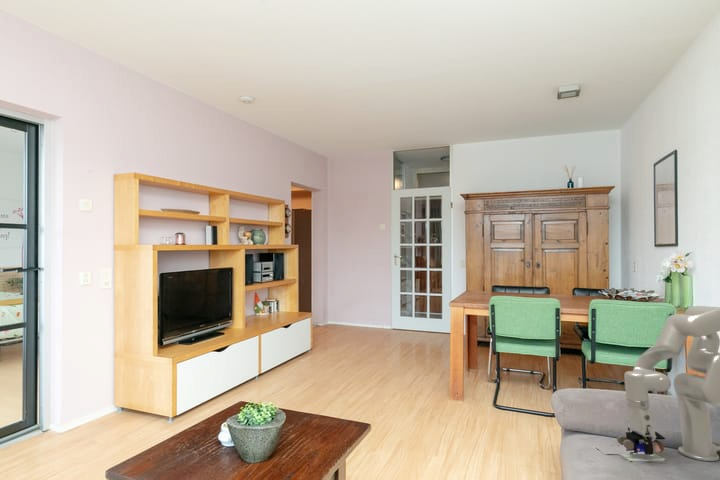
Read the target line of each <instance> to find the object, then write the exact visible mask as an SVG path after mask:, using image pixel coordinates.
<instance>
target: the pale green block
mask: <svg viewBox="0 0 720 480" xmlns="http://www.w3.org/2000/svg"><path fill="white" fill-rule="evenodd" d="M653 453H654V452H653ZM620 455H622V456H623V457H625V458H626V459H628V460H629V461H643V462H646V461H645V460H666V459H665V458H664V457H663V456H660V455H658V454H656V453H654V454H653V455H654V456H650V455H646V454H638V453H636V454H620ZM620 455H619V456H620ZM651 455H652V454H651ZM622 456H621V457H622ZM623 457H622V458H623ZM625 458H624V459H625ZM626 459H625V460H626ZM628 460H627V461H628ZM629 461H628V462H629Z"/></svg>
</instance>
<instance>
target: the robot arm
mask: <svg viewBox="0 0 720 480" xmlns="http://www.w3.org/2000/svg"><path fill="white" fill-rule="evenodd" d="M718 332H720V307H719V306H706V305H705V306H704V305H702V306H701V305H694V306H689V307H688V308H687V309H686V310H685V314H682V313H679V314H678V313H677V314H676V313H675V314H671V315H669V316H668V317H667V318H666V321H665V322H664V325H663V326H662V329H661V332H660V333H659V335H658V337H657V340H656V342H655V344H654V345H653V346H651V347H650V348H648V349H647V350H645V351H644V352H643V353H641V355H640V356H638V358H637V360H636V362H635V365H634V367H633V370H628V371H625V372H624V375H623V377H624V387H625V397H626V399H625V400H626V421H625V425H626V427H627V430H628V432H636V433H638V434H640V435H642V437H643V439H644V440H643V443H644V453H645V454H646V455H651V454H654V452H653V444H654V441H655V440H657V439H656V435H655V432H656V430H655V429H656V428H655V423H654V418H653V414H652V413H653V412H652V411H651V409H650V401H649V391H650V392H657V393H658V392H659V393H662V392H666V391H668V390H670V388H671V385H673V388H674V392H675V395H676V397H677V403H678V411H679V422H680V424H679V425H680V432H681V442H682V443H681V444H682V446H679V447H678V450H677V451H678V453H680V455H682V456H684V457H687V458H690V459H694V460H697V461H703V462H704V461H705V462H715V461H719V460H720V455H719V454H718V452H720V445H717V444H715V443H713V436H712V435H713V434H712V425H711V418H710V410H709V407H708V404H710V405H719V404H720V352H719V348H720V336H719V334H718ZM688 337H693V338H692V341H691V345H690V348H689V349H688V353H687V356H686V359H685V364H686V367H687V368H688V369H690V370H691V371H693V372H696V373H699V374H703V375H705V376H702V375H698V374H695V373H690V372H683V373H679V374H676V375H675V377H674V379H673V382H672V381H671V379H670V378H669V376H668V375H666V374H664V373H663V372H660V371H655V370H654V368H655V366H657V365H658V364H659V363H660V362H663V361H666V360H669V359H672V358H675V357H677V356H680V354H681V352H682V351H683V350H682V349H683V348H684V345H685V343H686V341H687V339H688ZM672 383H673V384H672ZM645 434H648V435H645ZM646 437H648V439H646ZM635 443H640V440H635Z"/></svg>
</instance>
